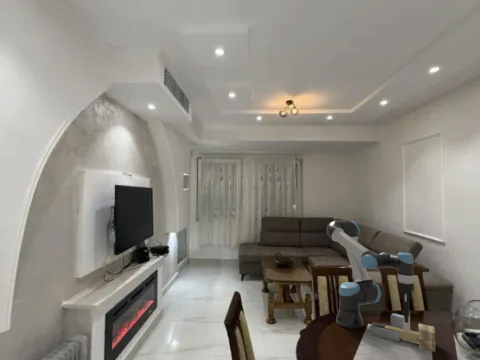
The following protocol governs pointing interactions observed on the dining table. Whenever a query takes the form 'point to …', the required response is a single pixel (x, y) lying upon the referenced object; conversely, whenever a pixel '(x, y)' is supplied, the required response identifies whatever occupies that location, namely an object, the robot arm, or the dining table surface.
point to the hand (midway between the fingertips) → (406, 326)
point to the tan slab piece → (405, 332)
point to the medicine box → (397, 320)
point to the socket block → (427, 337)
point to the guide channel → (383, 332)
